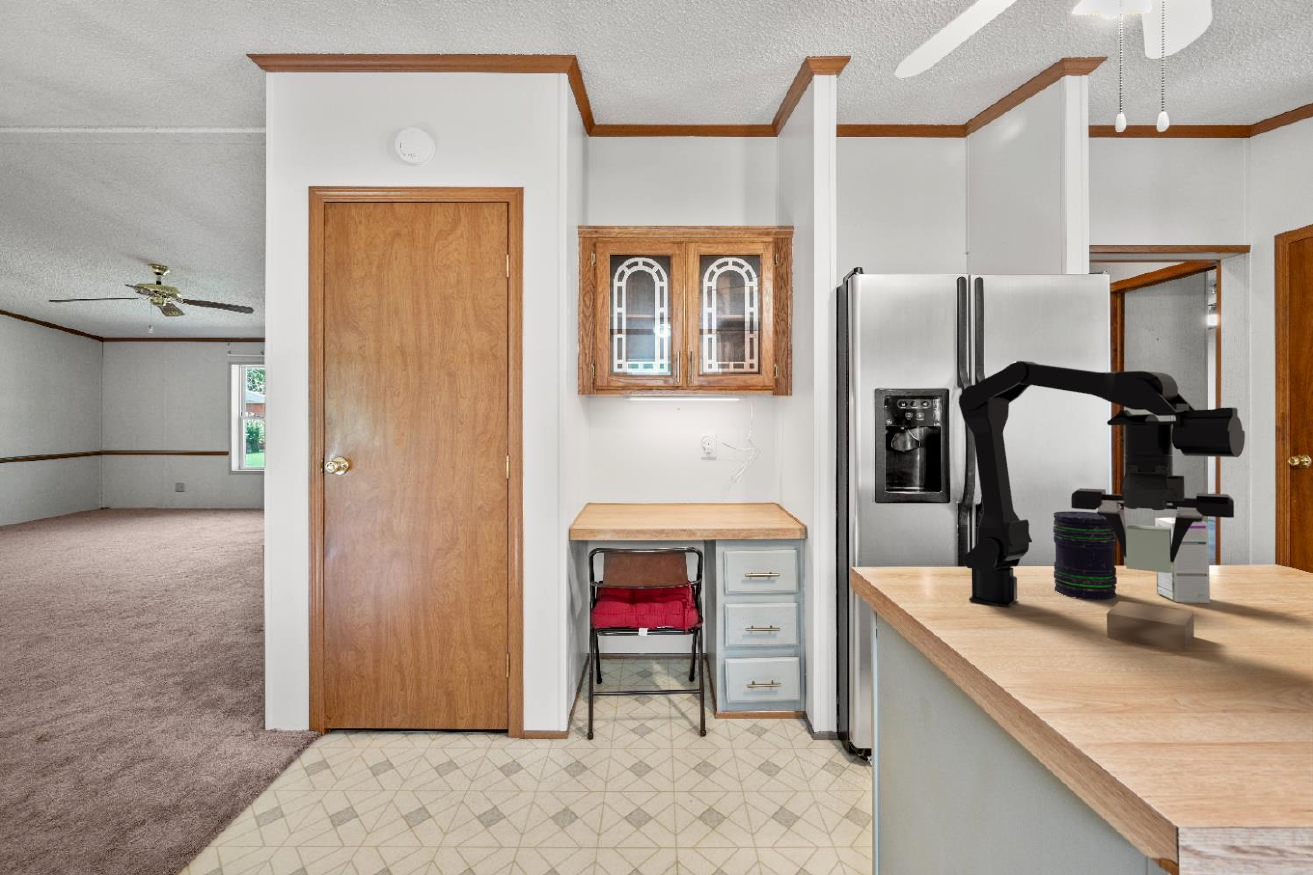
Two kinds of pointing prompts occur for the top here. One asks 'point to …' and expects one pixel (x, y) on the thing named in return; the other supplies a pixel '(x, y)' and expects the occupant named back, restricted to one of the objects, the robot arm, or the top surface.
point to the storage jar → (1084, 556)
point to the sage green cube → (1148, 548)
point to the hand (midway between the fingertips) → (1148, 559)
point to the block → (1151, 625)
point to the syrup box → (1187, 566)
